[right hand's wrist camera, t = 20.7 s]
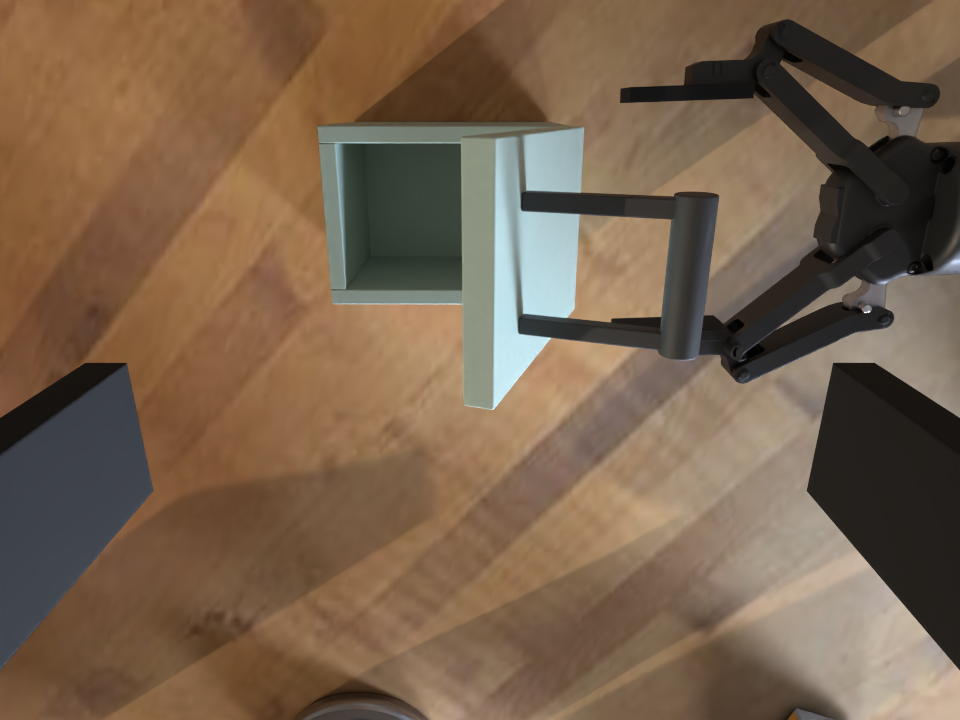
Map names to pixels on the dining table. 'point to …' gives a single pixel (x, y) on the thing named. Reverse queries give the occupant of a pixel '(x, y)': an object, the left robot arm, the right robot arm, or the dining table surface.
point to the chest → (397, 208)
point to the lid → (558, 257)
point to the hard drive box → (806, 716)
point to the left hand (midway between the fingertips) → (619, 220)
